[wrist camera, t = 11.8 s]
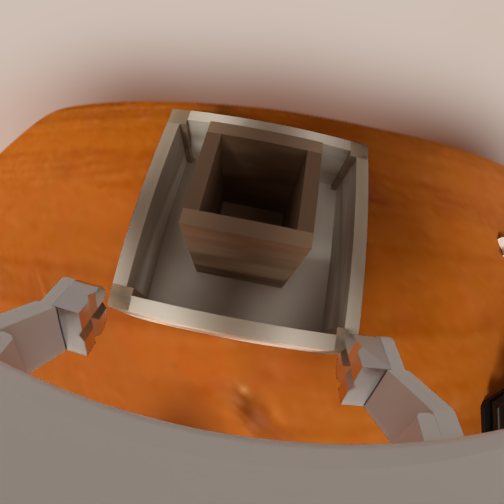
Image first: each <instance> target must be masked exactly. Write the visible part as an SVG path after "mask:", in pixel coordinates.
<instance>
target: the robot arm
mask: <svg viewBox="0 0 504 504" xmlns="http://www.w3.org/2000/svg"><path fill="white" fill-rule="evenodd" d="M104 299H105V291H104V288H103V287H101V286H98V285H94V284H90V283H87V282H83V281H80V280H76V279H72V278H69V277H63V278H62V279H61V280H60V281H59V282H58V283H57V284H56V285H55V286H54V287H53V288H52V289H51V290H50V291H49V292H48V293H47V295H46V296H45V297H44V298H43V299H42V300H41V301H40V302H39V301H34V302H31V303H29V304H26V305H23V306H21V307H18V308H15V309H12V310H10V311H7V312H4V313H2V314H0V504H504V429H500V430H496V431H491V432H486V433H480V434H475V435H469V436H464V435H463V432H462V429H461V427H460V424H459V421H458V419H457V416H456V414H455V411H454V410H453V409H452V408H451V407H450V406H449V405H448V404H446V403H445V402H444V401H443V400H442V399H441V398H440V397H438V396H437V395H436V394H435V393H434V392H433V391H432V390H430V389H429V388H428V387H427V386H426V385H425V384H424V383H422V382H421V381H420V380H419V379H418V378H417V377H416V376H414V375H413V374H412V373H411V372H410V371H405V368H404V366H403V363H402V360H401V358H400V355H399V353H398V350H397V348H396V345H395V343H394V340H393V339H392V338H391V337H381V336H377V337H376V336H367V335H359V334H350V335H349V336H348V337H347V339H346V341H345V345H346V349H344V350H343V351H341V352H340V354H339V356H338V359H337V363H336V379H337V380H338V381H339V382H340V383H341V384H340V386H339V388H338V391H339V397H340V403H341V404H344V405H357V406H364V408H365V410H366V411H367V412H368V414H369V415H370V416H371V417H372V419H373V420H374V421H375V423H376V424H377V425H378V427H379V428H380V429H381V430H382V432H383V433H384V434H385V436H386V437H387V438H388V440H389V441H390V442H391V443H390V444H321V443H303V442H290V441H279V440H269V439H260V438H252V437H245V436H238V435H232V434H225V433H219V432H214V431H208V430H203V429H198V428H193V427H188V426H184V425H179V424H175V423H171V422H166V421H162V420H158V419H154V418H151V417H147V416H143V415H140V414H136V413H132V412H129V411H126V410H122V409H119V408H116V407H113V406H110V405H106V404H103V403H100V402H97V401H95V400H92V399H89V398H86V397H83V396H80V395H78V394H75V393H72V392H70V391H67V390H65V389H62V388H60V387H57V386H55V385H52V384H50V383H48V382H45V381H43V380H41V379H38V378H36V377H34V376H31V375H29V373H31V372H33V371H34V370H36V369H37V368H39V367H41V366H42V365H44V364H45V363H47V362H49V361H50V360H52V359H54V358H55V357H57V356H58V355H60V354H62V353H63V352H65V351H66V350H69V351H73V352H76V353H79V354H82V355H86V356H88V355H89V353H90V351H91V350H92V348H93V346H94V345H95V343H96V342H95V337H96V336H98V335H100V334H101V333H102V332H103V330H104V328H105V324H106V321H107V308H106V307H105V305H104V304H103V303H102V302H103V300H104Z"/></svg>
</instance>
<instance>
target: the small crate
mask: <svg viewBox="0 0 504 504" xmlns="http://www.w3.org/2000/svg"><path fill="white" fill-rule="evenodd" d="M322 149H323V143H322V142H318V141H314V140H310V139H305V138H301V137H296V136H292V135H287V134H282V133H277V132H272V131H267V130H262V129H257V128H251V127H245V126H240V125H233V124H227V123H221V122H214V121H211V122H210V125H209V128H208V130H207V133H206V136H205V139H204V142H203V145H202V148H201V151H200V154H199V157H198V160H197V164H196V167H195V170H194V173H193V176H192V179H191V183H190V186H189V189H188V192H187V196H186V199H185V202H184V206H183V209H182V212H181V216H180V219H179V226H180V228H181V231H182V234H183V237H184V239H185V242H186V245H187V247H188V250H189V253H190V255H191V258H192V260H193V263H194V266H195V268H196V271H197V272H202V273H206V274H211V275H216V276H221V277H226V278H231V279H236V280H241V281H246V282H251V283H256V284H262V285H267V286H272V287H277V288H282V287H283V286H284V284H285V283H286V282H287V280H288V279H289V278H290V277H291V275H292V274H293V273H294V271H295V270H296V269H297V268H298V266H299V265H300V264H301V262H302V261H303V260H304V258H305V257H306V256H307V255H308V253H309V252H310V251H311V249H312V243H313V235H314V226H315V218H316V209H317V200H318V191H319V181H320V171H321V160H322Z"/></svg>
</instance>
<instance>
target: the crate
mask: <svg viewBox="0 0 504 504" xmlns="http://www.w3.org/2000/svg"><path fill="white" fill-rule="evenodd" d="M211 121H214V122H221V123H227V124H233V125H240V126H245V127H251V128H257V129H262V130H267V131H272V132H277V133H282V134H287V135H292V136H296V137H301V138H305V139H310V140H314V141H318V142H322V143H323V149H322V160H321V171H320V181H319V191H318V200H317V209H316V218H315V226H314V235H313V243H312V249H311V251H310V252H309V253H308V255H307V256H306V257H305V258H304V260H303V261H302V262H301V264H300V265H299V266H298V268H297V269H296V270H295V271H294V273H293V274H292V275H291V277H290V278H289V279H288V280H287V282H286V283H285V284H284V286H283V287H282V288H277V287H272V286H267V285H262V284H256V283H251V282H246V281H241V280H236V279H231V278H226V277H221V276H216V275H211V274H206V273H202V272H197V271H196V268H195V266H194V263H193V260H192V258H191V255H190V253H189V250H188V247H187V245H186V242H185V239H184V237H183V234H182V231H181V228H180V226H179V219H180V216H181V212H182V209H183V206H184V202H185V199H186V196H187V192H188V189H189V186H190V183H191V179H192V176H193V173H194V170H195V167H196V164H197V160H198V157H199V154H200V151H201V148H202V145H203V142H204V139H205V136H206V133H207V130H208V128H209V125H210V122H211ZM367 224H368V146H367V145H363V144H360V143H356V142H352V141H349V140H345V139H341V138H337V137H333V136H329V135H325V134H321V133H316V132H312V131H308V130H303V129H299V128H294V127H289V126H284V125H279V124H274V123H269V122H263V121H258V120H252V119H246V118H240V117H234V116H227V115H220V114H213V113H205V112H197V111H189V110H180V109H173V111H172V113H171V115H170V118H169V120H168V122H167V125H166V127H165V130H164V132H163V134H162V137H161V139H160V142H159V144H158V147H157V149H156V152H155V154H154V157H153V159H152V162H151V165H150V167H149V170H148V173H147V175H146V178H145V181H144V184H143V187H142V189H141V192H140V195H139V198H138V201H137V204H136V207H135V210H134V213H133V216H132V219H131V222H130V225H129V228H128V232H127V235H126V238H125V241H124V245H123V248H122V252H121V255H120V259H119V262H118V266H117V269H116V273H115V277H114V280H113V284H112V288H111V292H110V296H109V300H108V304H107V306H110V307H112V308H114V309H116V310H119V311H121V312H123V313H126V314H128V315H131V316H133V317H135V318H139V319H143V320H147V321H151V322H155V323H159V324H163V325H168V326H172V327H176V328H181V329H185V330H190V331H194V332H199V333H204V334H209V335H214V336H219V337H224V338H229V339H234V340H239V341H245V342H250V343H256V344H262V345H268V346H274V347H280V348H287V349H293V350H300V351H307V352H314V353H321V354H340V352H341V351H343V350H344V349H346V345H345V341H346V339H347V337H348V336H349V335H350V334H359V326H360V318H361V308H362V298H363V288H364V276H365V262H366V246H367Z"/></svg>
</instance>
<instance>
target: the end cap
mask: <svg viewBox="0 0 504 504" xmlns="http://www.w3.org/2000/svg"><path fill="white" fill-rule="evenodd" d="M481 426H482V433H486V432H491V431H496V430H500V429H504V389H503V390H501V391H500V392H498V393H496V394H495V395H493V396H491V397H490V398H488V399H486V400H485V401H484V402H483V403H482V405H481Z"/></svg>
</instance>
